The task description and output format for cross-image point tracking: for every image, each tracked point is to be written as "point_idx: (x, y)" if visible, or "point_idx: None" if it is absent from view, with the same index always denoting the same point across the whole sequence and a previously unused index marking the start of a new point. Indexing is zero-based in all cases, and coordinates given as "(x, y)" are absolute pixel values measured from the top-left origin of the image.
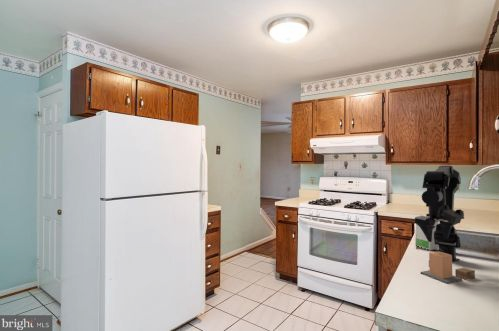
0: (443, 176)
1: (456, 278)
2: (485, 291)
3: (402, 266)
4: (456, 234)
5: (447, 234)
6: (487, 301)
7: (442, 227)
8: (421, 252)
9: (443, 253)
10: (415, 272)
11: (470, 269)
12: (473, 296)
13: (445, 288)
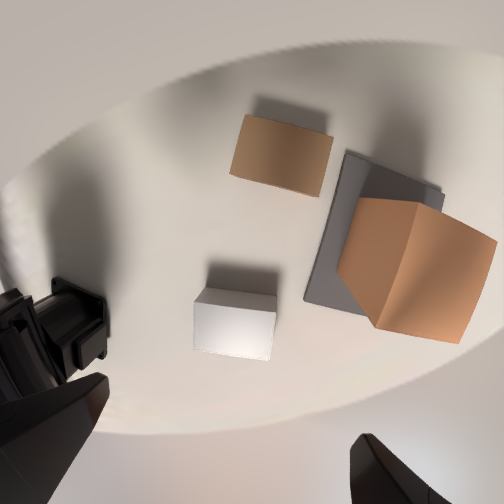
0: None
1: (367, 175)
2: (390, 63)
3: (358, 399)
4: None
5: (74, 404)
6: (462, 61)
7: (48, 485)
8: None
9: (419, 272)
10: (400, 338)
11: (243, 136)
12: (466, 95)
13: (480, 183)
